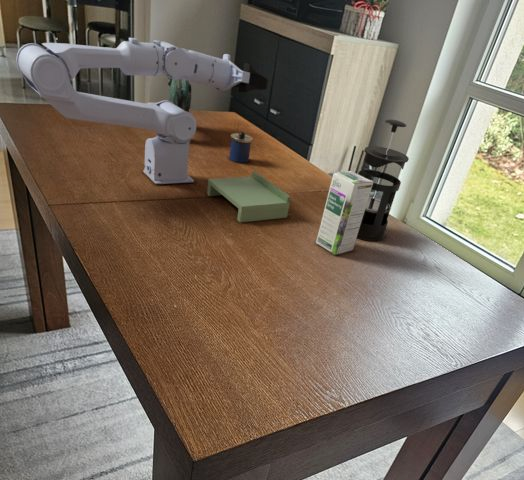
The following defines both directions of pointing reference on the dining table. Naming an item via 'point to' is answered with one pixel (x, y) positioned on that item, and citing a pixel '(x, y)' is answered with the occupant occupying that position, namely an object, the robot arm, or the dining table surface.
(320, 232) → the syrup box
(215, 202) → the dining table surface
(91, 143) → the dining table surface
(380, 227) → the french press
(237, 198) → the shelf
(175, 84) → the green leafy plant
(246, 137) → the pot
